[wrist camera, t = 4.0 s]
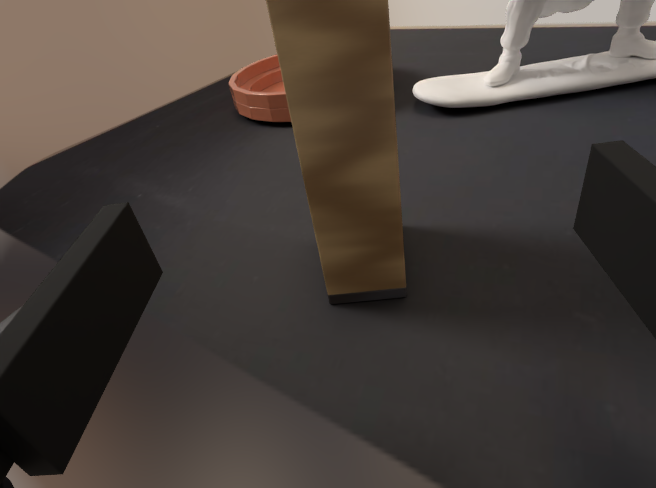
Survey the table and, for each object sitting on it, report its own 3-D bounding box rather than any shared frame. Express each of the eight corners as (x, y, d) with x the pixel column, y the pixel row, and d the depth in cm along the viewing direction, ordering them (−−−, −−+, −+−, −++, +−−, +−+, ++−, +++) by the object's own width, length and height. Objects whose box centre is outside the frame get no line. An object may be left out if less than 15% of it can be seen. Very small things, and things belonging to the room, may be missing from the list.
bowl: (209, 130, 42) (199, 99, 40) (271, 75, 54) (266, 50, 52) (375, 124, 37) (372, 88, 35) (403, 65, 49) (402, 36, 47)
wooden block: (329, 305, 21) (263, -10, 13) (331, 231, 25) (283, -30, 18) (407, 297, 20) (386, -31, 13) (393, 224, 25) (372, -46, 17)
